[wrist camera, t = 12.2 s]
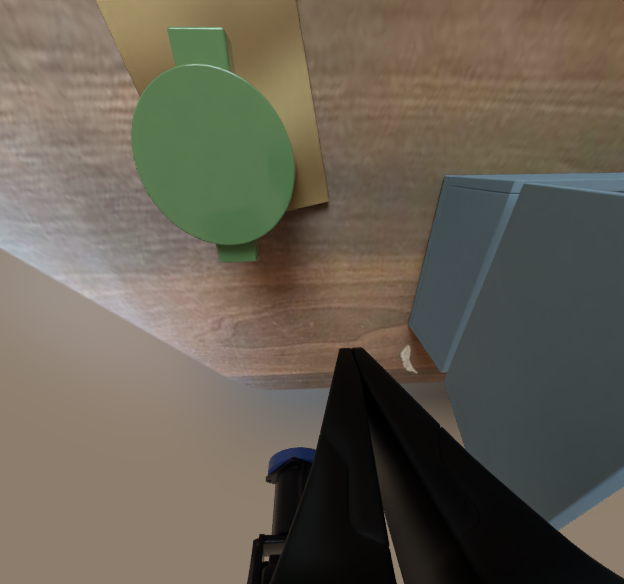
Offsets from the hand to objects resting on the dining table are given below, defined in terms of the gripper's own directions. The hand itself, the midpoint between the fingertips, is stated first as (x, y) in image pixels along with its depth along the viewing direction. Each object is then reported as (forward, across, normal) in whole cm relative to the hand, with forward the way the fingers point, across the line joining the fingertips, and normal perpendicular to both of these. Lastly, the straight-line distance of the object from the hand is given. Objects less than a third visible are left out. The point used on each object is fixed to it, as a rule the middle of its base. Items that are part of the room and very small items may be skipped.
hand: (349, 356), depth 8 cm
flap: (-1, -6, 0) cm, 6 cm away
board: (+8, +8, -23) cm, 26 cm away
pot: (+8, +4, -6) cm, 11 cm away
